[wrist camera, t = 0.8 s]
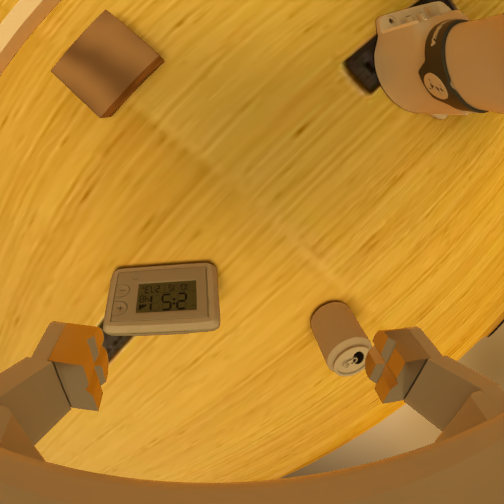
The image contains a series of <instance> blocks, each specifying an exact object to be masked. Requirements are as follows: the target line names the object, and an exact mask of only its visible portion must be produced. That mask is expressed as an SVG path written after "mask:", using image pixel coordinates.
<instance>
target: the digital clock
mask: <svg viewBox="0 0 504 504" xmlns="http://www.w3.org/2000/svg"><path fill="white" fill-rule="evenodd" d="M219 326H220V308H219V295H218V282H217V269H216V267H215V266H214V265H212V264H210V263H192V264H178V265H164V266H150V267H135V268H123V269H117V270H116V271H115V272H114V273H113V275H112V278H111V283H110V289H109V294H108V299H107V305H106V311H105V317H104V325H103V329H104V331H105V333H107V334H109V335H115V336H125V335H132V336H146V335H170V334H189V333H195V332H208V331H214V330H216V329H218V328H219Z"/></svg>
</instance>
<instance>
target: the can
mask: <svg viewBox="0 0 504 504" xmlns="http://www.w3.org/2000/svg"><path fill="white" fill-rule="evenodd" d="M311 329H312V331H313V333H314V335H315V338H316V340H317V342H318V345H319V347H320V349H321V352H322V354H323V356H324V359H325V361H326V363H327V365H328V367H329V369H330V370H332V371H333V372H335V373H336V374H338V375H339V376H351V375H355V374H357V373H359V372H361V371H362V370H363V369H365V358H366V356H367V353H368V351H369V350H370V349H371V348H372V345H371V342H370V340H369V339H368V337H367V336H366V334H365V332H364V331H363V329H362V328H361V326H360V324H359V323H358V321H357V320H356V318H355V316H354V315H353V313H352V312H351V310H350V308H349V307H348V306H347V305H346V304H344V303H341V302H332V303H328V304H326V305H324V306H322V307H320V308H319V309H318V310H317V311H316V312H315V313H314V315H313V316H312V319H311Z"/></svg>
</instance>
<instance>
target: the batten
mask: <svg viewBox="0 0 504 504" xmlns="http://www.w3.org/2000/svg"><path fill="white" fill-rule="evenodd" d="M60 1H61V0H19V1H18V3H17V4H16V5H15V6H14V7H13V9H12V10H11V11H10V12H9V14H8V15H7V16H6V17H5V19H4V20H3V21H2V23H1V24H0V75H1V74H2V73H3V71H4V70H5V68H6V67H7V65H8V64H9V62H10V61H11V60H12V58H13V57H14V55H15V54H16V53H17V51H18V50H19V49H20V47H21V46H22V45H23V44H24V42H25V41H26V40H27V38H28V37H29V36H30V35H31V34H32V32H33V31H34V30H35V29H36V27H37V26H38V25H39V24H40V23H41V22H42V20H43V19H44V18H45V17H46V16H47V15H48V14H49V13H50V12H51V10H52V9H53V8H54V7H55V6H56V5H57V4H58V3H59V2H60Z"/></svg>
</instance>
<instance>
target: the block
mask: <svg viewBox="0 0 504 504" xmlns="http://www.w3.org/2000/svg"><path fill="white" fill-rule="evenodd" d="M163 62H164V60H163V59H162V58H161V57H160V56H159V55H158V54H157V53H156V52H155V51H154V50H153V49H152V48H150V47H149V46H148V45H147V44H146V43H145V42H144V41H143V40H141V39H140V38H139V37H138V36H137V35H136V34H134V33H133V32H132V31H131V30H130V29H129V28H128V27H126V26H125V25H124V24H123V23H122V22H120V21H119V20H118V19H117V18H116V17H114V16H113V15H112V14H111V13H110V12H108V11H107V10H105V11H104V12H103V13H102V14H101V15H100V16H99V17H98V18H97V19H96V20H95V21H94V22H93V23H92V24H91V25H90V26H89V27H88V28H87V29H86V30H85V31H84V32H83V33H82V34H81V35H80V36H79V38H78V39H77V40H76V41H75V42H74V43H73V44H72V45H71V47H70V48H69V49H68V50H67V51H66V52H65V54H64V55H63V56H62V57H61V58H60V60H59V61H58V62H57V63H56V65H55V66H54V67H53V68H52V70H51V72H52V73H53V74H54V75H55V76H56V77H57V78H58V79H59V80H61V81H62V82H63V83H64V84H65V85H66V86H67V87H68V88H69V89H70V90H71V91H72V92H73V93H74V94H75V95H76V96H77V97H78V98H80V99H81V100H82V101H83V102H84V103H85V104H86V105H87V106H88V107H89V108H90V109H91V110H92V111H93V112H94V113H95V114H96V115H97V116H99V117H100V118H103V117H111V116H112V115H113V114H114V113H115V112H116V111H117V109H118V108H119V107H120V106H121V105H122V104H123V103H124V102H125V101H126V100H127V98H128V97H129V96H130V95H131V94H132V93H133V92H134V91H135V90H136V89H137V88H138V87H139V86H140V85H141V84H142V83H143V82H144V81H145V80H146V79H147V78H148V77H149V76H150V75H151V74H152V73H153V72H154V71H155V70H156V69H157V68H158V67H159V66H160V65H161V64H162V63H163Z"/></svg>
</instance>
